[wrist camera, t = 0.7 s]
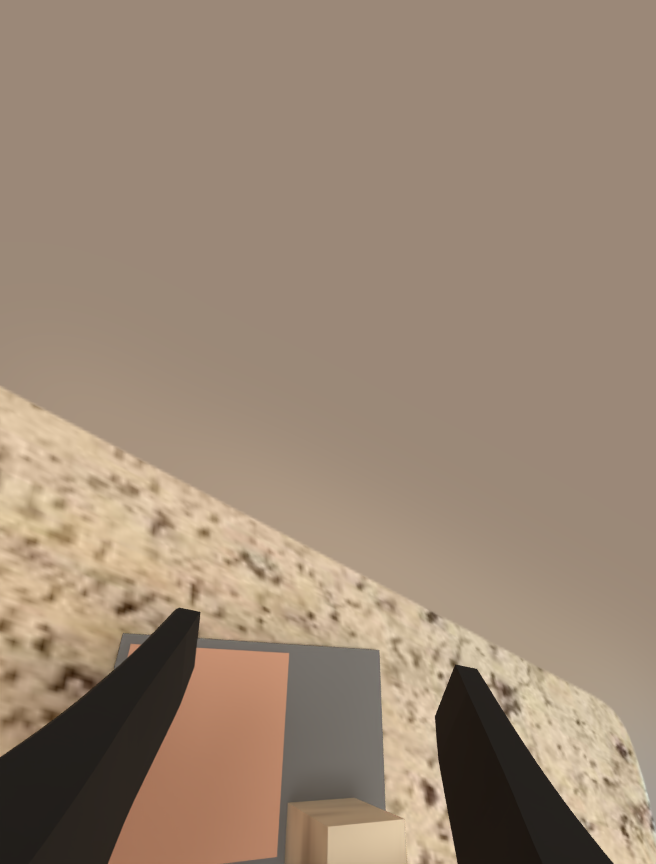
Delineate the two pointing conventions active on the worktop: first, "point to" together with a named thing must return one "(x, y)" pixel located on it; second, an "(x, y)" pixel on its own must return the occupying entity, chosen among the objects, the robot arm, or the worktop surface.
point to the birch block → (343, 833)
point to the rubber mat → (255, 751)
